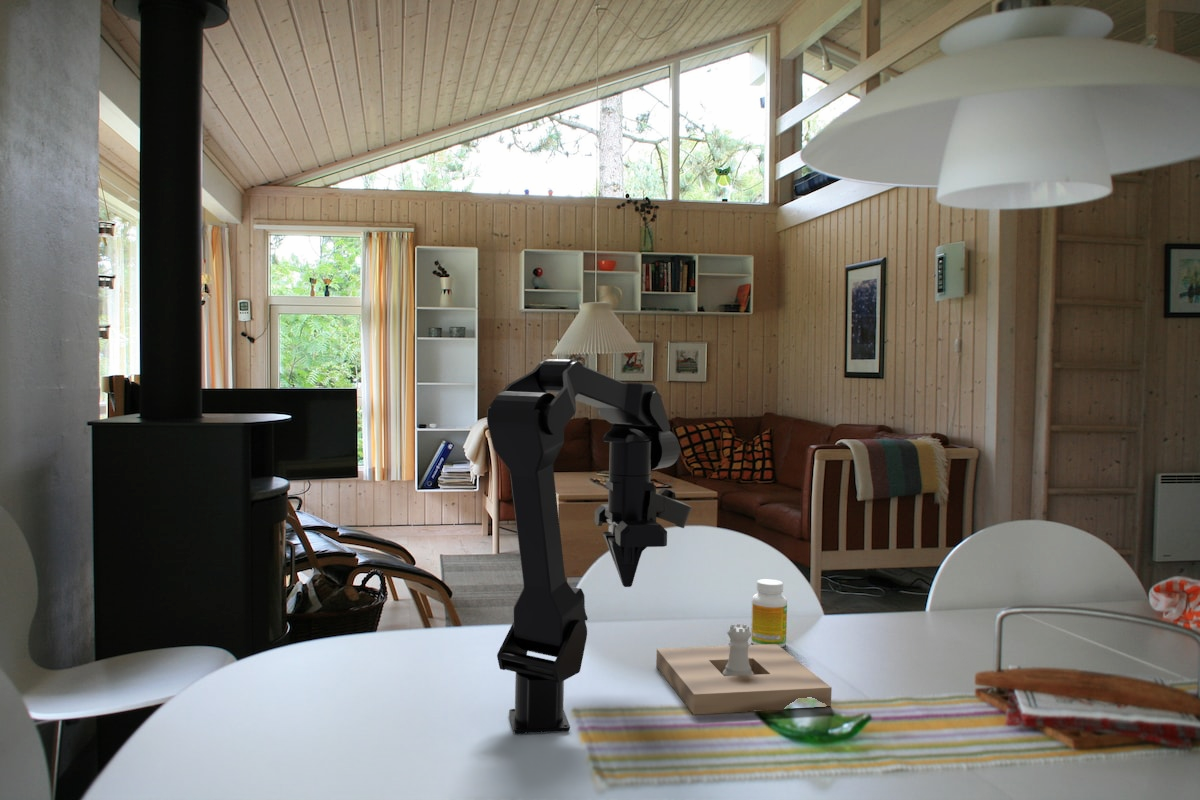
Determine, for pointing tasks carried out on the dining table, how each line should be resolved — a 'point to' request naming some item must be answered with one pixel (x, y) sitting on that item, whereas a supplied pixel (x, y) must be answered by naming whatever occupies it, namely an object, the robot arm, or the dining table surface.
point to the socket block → (739, 679)
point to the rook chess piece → (738, 652)
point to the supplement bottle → (769, 614)
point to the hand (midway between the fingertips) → (627, 586)
